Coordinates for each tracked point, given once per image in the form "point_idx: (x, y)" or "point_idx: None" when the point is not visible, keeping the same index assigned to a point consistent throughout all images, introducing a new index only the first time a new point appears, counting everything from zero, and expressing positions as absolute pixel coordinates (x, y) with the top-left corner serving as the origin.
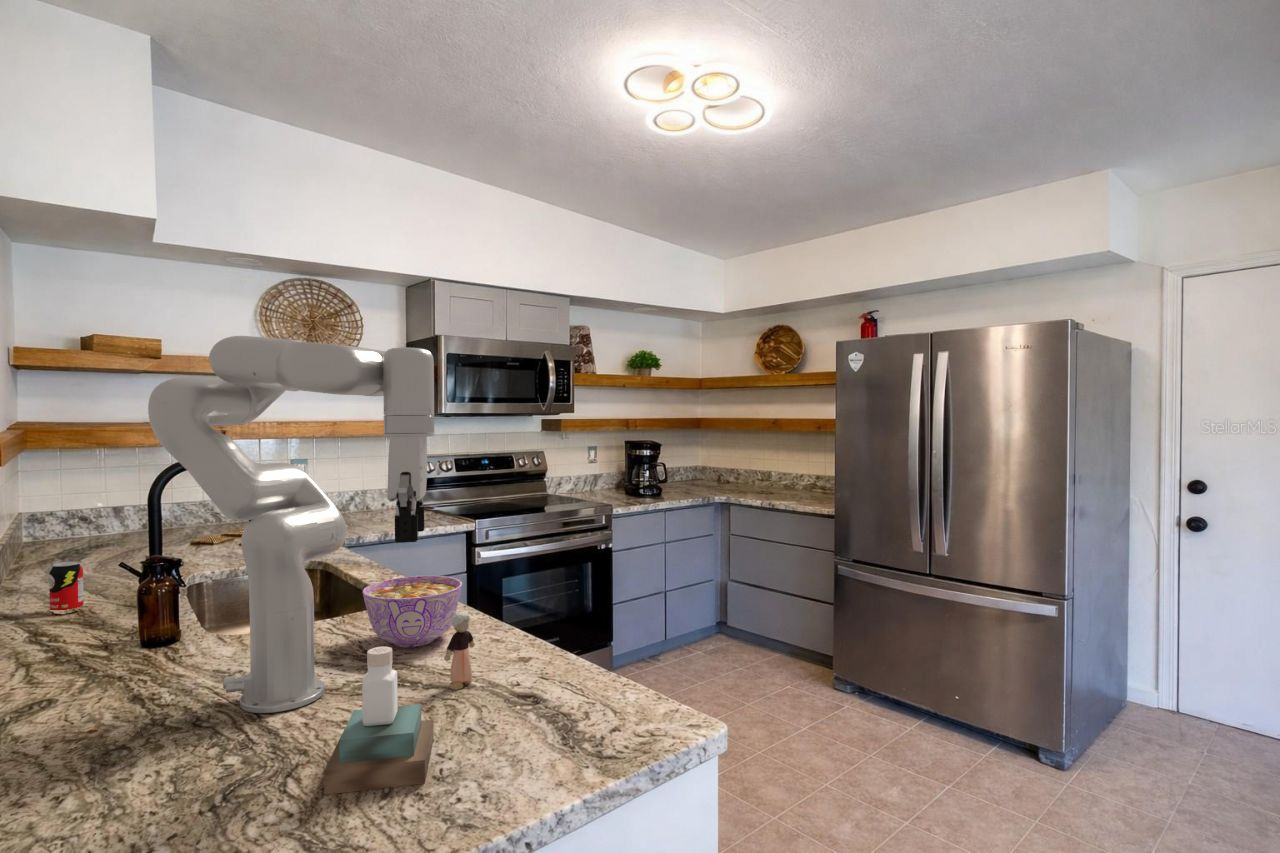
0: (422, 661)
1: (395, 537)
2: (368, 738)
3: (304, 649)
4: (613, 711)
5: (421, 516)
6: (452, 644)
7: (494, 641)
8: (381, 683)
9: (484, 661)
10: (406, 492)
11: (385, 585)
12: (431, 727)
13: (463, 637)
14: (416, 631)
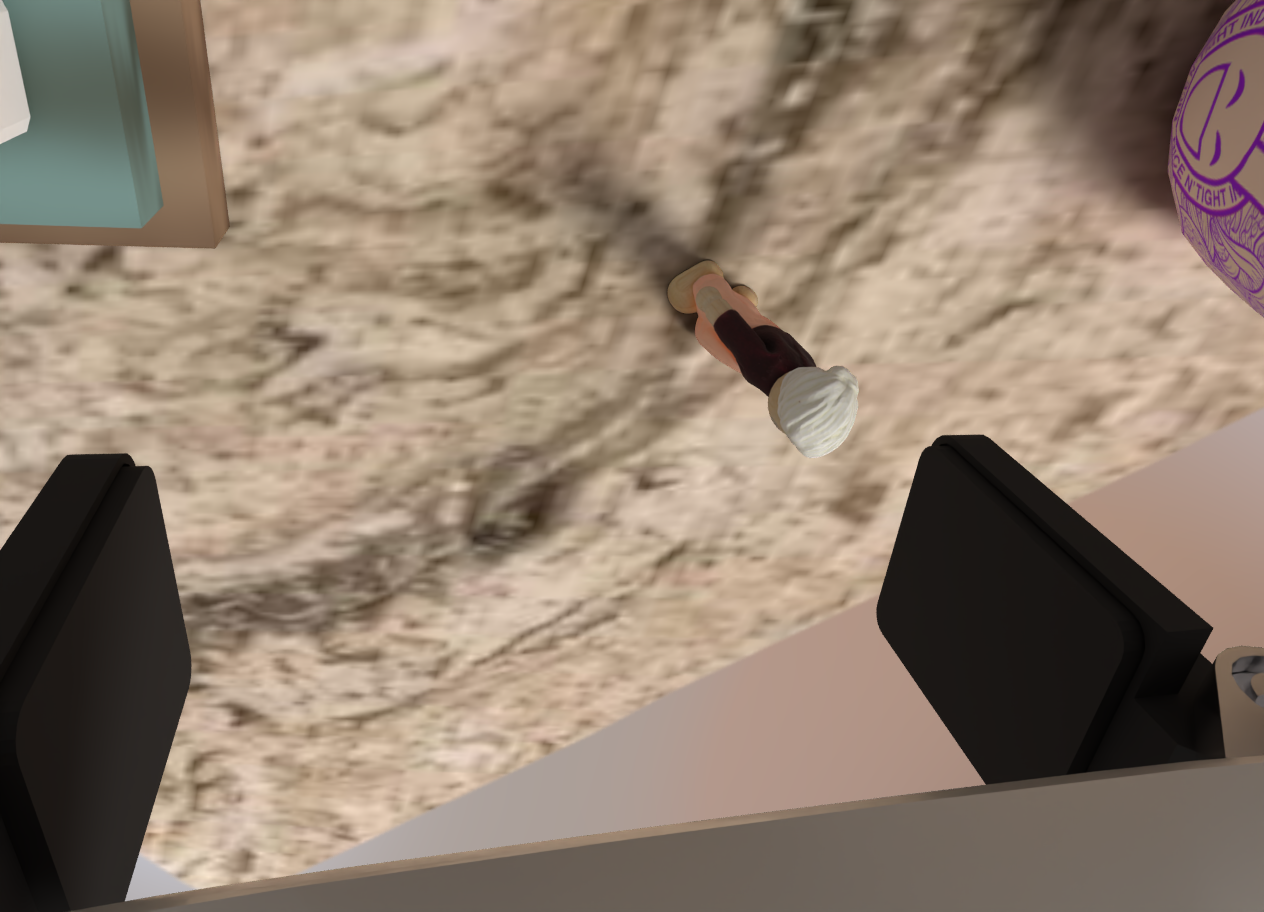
0: (1014, 144)
1: (48, 490)
2: None
3: None
4: (366, 715)
5: (963, 734)
6: (727, 341)
7: (1079, 407)
8: None
9: (900, 377)
10: None
11: None
12: (136, 245)
13: (761, 390)
14: (1187, 131)
